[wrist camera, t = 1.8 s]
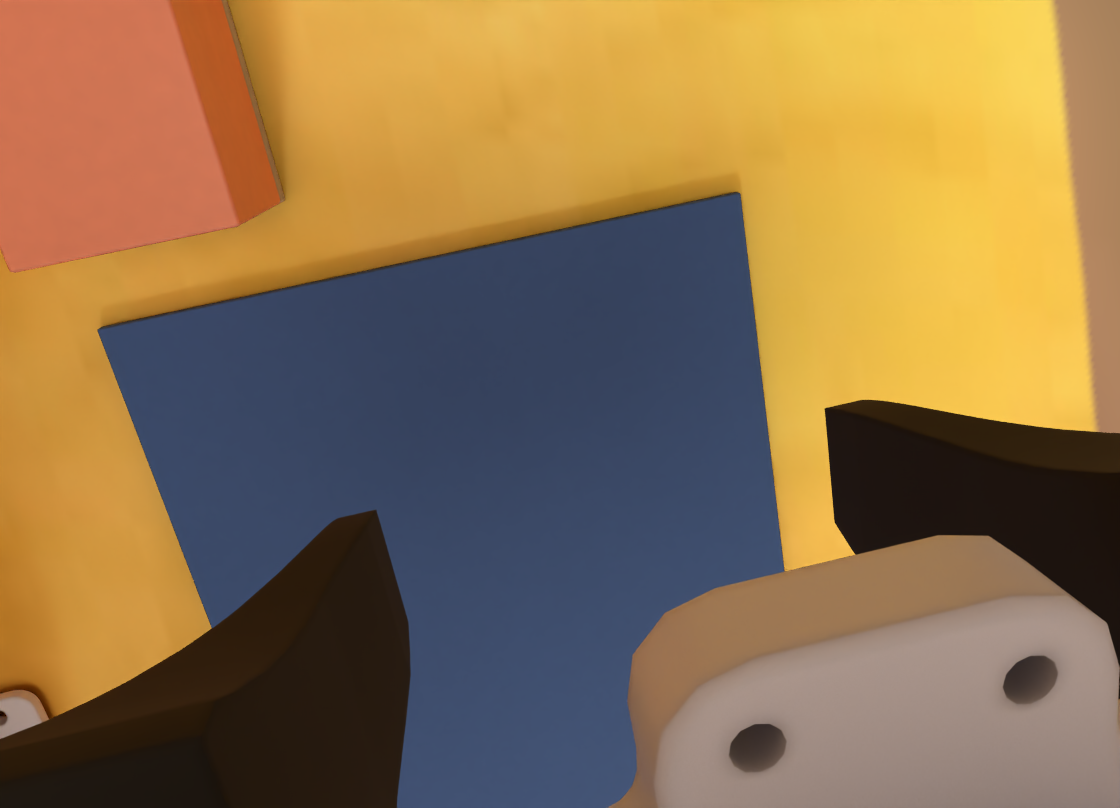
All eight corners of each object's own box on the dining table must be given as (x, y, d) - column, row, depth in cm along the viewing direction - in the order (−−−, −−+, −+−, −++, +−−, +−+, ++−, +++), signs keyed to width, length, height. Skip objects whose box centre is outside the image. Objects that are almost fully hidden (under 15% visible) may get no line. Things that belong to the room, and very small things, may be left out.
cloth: (329, 923, 28) (328, 932, 27) (101, 326, 21) (96, 329, 21) (808, 799, 29) (812, 806, 28) (736, 191, 22) (740, 192, 22)
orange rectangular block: (108, 237, 20) (9, 273, 16) (-14, -96, 18) (-174, -170, 13) (286, 200, 21) (240, 225, 16) (188, -133, 18) (101, -219, 14)
